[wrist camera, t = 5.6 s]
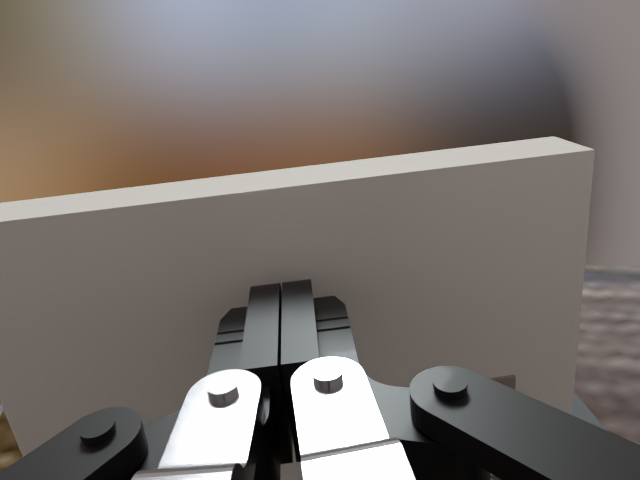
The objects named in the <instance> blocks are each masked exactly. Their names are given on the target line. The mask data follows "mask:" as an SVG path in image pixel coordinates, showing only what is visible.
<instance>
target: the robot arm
mask: <svg viewBox="0 0 640 480" xmlns="http://www.w3.org/2000/svg"><path fill="white" fill-rule="evenodd" d="M293 444H294V450H295V457H296V462H301V464H302V472H303V479H304V480H494V479H492V478H491V474H493V475H494V476H496V477H498V478H499V479H501V480H640V445H638V444H636V443H634V442H631V441H629V440H627V439H625V438H622V437H620V436H618V435H616V434H613V433H611V432H609V431H607V430H604V429H602V428H600V427H598V426H595V425H593V424H591V423H589V422H586V421H584V420H582V419H580V418H577V417H575V416H573V415H571V414H568V413H566V412H564V411H562V410H559V409H557V408H555V407H553V406H550V405H548V404H546V403H544V402H541V401H539V400H537V399H535V398H532V397H530V396H528V395H526V394H523V393H521V392H519V391H517V390H514V389H512V388H510V387H508V386H505V385H503V384H501V383H499V382H496V381H494V380H492V379H489V378H487V377H485V376H483V375H480V374H478V373H476V372H474V371H471V370H469V369H466V368H462V367H456V366H438V367H433V368H429V369H426V370H424V371H422V372H420V373H419V374H417V375H416V376H415V377H414V378H413V380H412V381H411V384H410V388H408V387H397V386H390V385H385V384H382V383H379V382H376V381H374V380H372V379H371V378H369V377H368V376H366V375H365V372H364V370H363V369H362V367H361V366H360V365H359V362H358V357H357V353H356V349H355V345H354V340H353V336H352V332H351V328H350V323H349V319H348V314H347V310H346V306H345V304H344V303H343V302H342V301H340V300H339V299H338V298H337V297H336V296H326V297H318V298H313V291H312V283H311V279H306V280H298V281H290V282H282V289H281V285H280V283H275V284H266V285H258V286H251V287H250V293H249V300H248V306H246V307H238V308H231V309H230V310H229V311H228V312H227V313H226V314H225V316H224V317H223V318H222V319H221V320H220V323H219V327H218V331H217V335H216V339H215V346H214V348H213V352H212V356H211V360H210V364H209V369H208V373H207V376H206V377H204V378H202V379H201V380H199V381H198V382H197V383H195V384H194V385H193V386H192V387H191V389H190V390H189V391H188V393H187V395H186V398H185V401H184V403H183V406H182V408H181V410H179V411H177V412H175V413H173V414H171V415H168V416H166V417H163V418H160V419H157V420H154V421H151V422H148V423H145V424H143V423H142V420H141V417H140V415H139V414H138V412H137V411H135V410H133V409H131V408H127V407H110V408H105V409H101V410H98V411H95V412H93V413H90V414H88V415H86V416H84V417H82V418H81V419H79V420H78V421H76V422H75V423H73V424H72V425H70V426H69V427H67V428H66V429H64V430H63V431H61V432H60V433H58V434H57V435H55V436H54V437H52V438H51V439H49V440H48V441H46V442H45V443H43V444H42V445H40V446H39V447H37V448H36V449H34V450H33V451H31V452H30V453H28V454H27V455H25V456H24V457H23V458H21V459H20V460H18V461H17V462H15V463H14V464H12V465H11V466H9V467H8V468H6V469H5V470H3V471H2V472H0V480H280V468H281V464H287V463H293Z"/></svg>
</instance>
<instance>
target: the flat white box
mask: <svg viewBox="0 0 640 480" xmlns="http://www.w3.org/2000/svg"><path fill="white" fill-rule="evenodd" d="M594 152H595V150H594V149H591V148H588V147H585V146H582V145H579V144H576V143H573V142H569V141H566V140H563V139H560V138H557V137H554V136H553V137H545V138H537V139H529V140H520V141H512V142H504V143H495V144H487V145H479V146H470V147H462V148H454V149H446V150H437V151H429V152H421V153H412V154H404V155H396V156H387V157H379V158H371V159H362V160H355V161H346V162H338V163H329V164H321V165H313V166H304V167H296V168H288V169H279V170H271V171H263V172H254V173H246V174H238V175H229V176H221V177H213V178H205V179H196V180H188V181H180V182H172V183H163V184H155V185H147V186H138V187H130V188H121V189H113V190H105V191H96V192H88V193H80V194H72V195H64V196H55V197H47V198H38V199H30V200H22V201H13V202H5V203H0V402H1V404H2V407H3V409H4V412H5V414H6V416H7V419H8V421H9V424H10V426H11V429H12V431H13V434H14V436H15V439H16V441H17V444H18V446H19V449H20V451H21V453H22V456H23V457H24V456H25V455H27V454H28V453H30V452H31V451H33V450H34V449H36V448H37V447H39V446H40V445H42V444H43V443H45V442H46V441H48V440H49V439H51V438H52V437H54V436H55V435H57V434H58V433H60V432H61V431H63V430H64V429H66V428H67V427H69V426H70V425H72V424H73V423H75V422H76V421H78V420H79V419H81V418H82V417H84V416H86V415H88V414H90V413H93V412H95V411H98V410H101V409H105V408H110V407H127V408H131V409H133V410H135V411H137V412H138V414H139V415H140V417H141V420H142V423H143V424H145V423H148V422H151V421H154V420H157V419H160V418H163V417H166V416H168V415H171V414H173V413H175V412H177V411H179V410H181V408H182V406H183V403H184V401H185V398H186V395H187V393H188V391H189V390H190V389H191V387H192V386H193V385H194V384H195V383H197V382H198V381H199V380H201V379H202V378H204V377H206V376H207V373H208V369H209V364H210V360H211V356H212V352H213V348H214V346H215V339H216V335H217V331H218V327H219V323H220V320H221V319H222V318H223V317H224V316H225V314H226V313H227V312H228V311H229V310H230V309H231V308H238V307H246V306H248V300H249V293H250V287H251V286H258V285H266V284H275V283H280V285H281V289H282V282H290V281H298V280H306V279H311V283H312V291H313V298H318V297H326V296H336V297H337V298H338V299H339V300H340V301H342V302H343V303H344V304H345V306H346V310H347V314H348V319H349V323H350V328H351V332H352V336H353V340H354V345H355V349H356V353H357V357H358V362H359V365H360V366H361V367H362V369H363V370H364V372H365V375H366V376H368V377H369V378H371V379H372V380H374V381H376V382H379V383H382V384H385V385H390V386H397V387H408V388H410V384H411V381H412V380H413V378H414V377H415V376H416V375H417V374H419V373H420V372H422V371H424V370H426V369H429V368H433V367H438V366H456V367H462V368H466V369H469V370H471V371H474V372H476V373H478V374H480V375H483V376H485V377H487V378H489V379H492V380H494V381H496V382H499V383H501V384H503V385H505V386H508V387H510V388H512V389H514V390H517V391H519V392H521V393H523V394H526V395H528V396H530V397H532V398H535V399H537V400H539V401H541V402H544V403H546V404H548V405H550V406H553V407H555V408H557V409H559V410H562V411H564V412H566V413H568V414H571V415H572V404H573V392H574V381H575V369H576V358H577V347H578V335H579V324H580V312H581V301H582V289H583V278H584V267H585V254H586V243H587V231H588V220H589V209H590V208H589V207H590V197H591V187H592V175H593V164H594ZM491 476H494V475H493V474H491ZM280 480H304V479H303V472H302V464H301V462H296V457H295V450H294V444H293V463H287V464H281V468H280Z"/></svg>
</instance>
